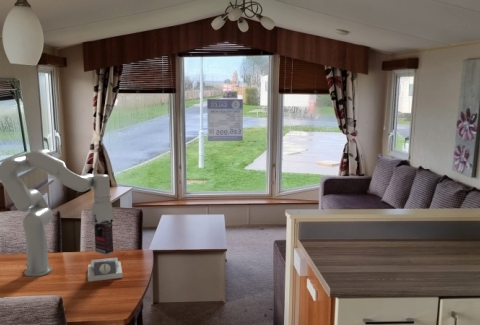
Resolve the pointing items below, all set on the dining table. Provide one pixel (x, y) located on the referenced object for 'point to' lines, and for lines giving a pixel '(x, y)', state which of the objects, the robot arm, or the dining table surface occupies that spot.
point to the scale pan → (103, 261)
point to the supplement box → (104, 239)
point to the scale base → (104, 271)
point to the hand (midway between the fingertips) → (103, 234)
